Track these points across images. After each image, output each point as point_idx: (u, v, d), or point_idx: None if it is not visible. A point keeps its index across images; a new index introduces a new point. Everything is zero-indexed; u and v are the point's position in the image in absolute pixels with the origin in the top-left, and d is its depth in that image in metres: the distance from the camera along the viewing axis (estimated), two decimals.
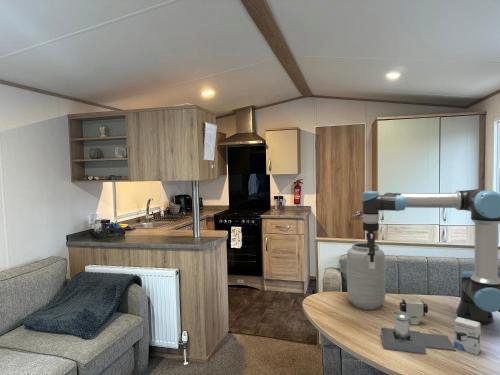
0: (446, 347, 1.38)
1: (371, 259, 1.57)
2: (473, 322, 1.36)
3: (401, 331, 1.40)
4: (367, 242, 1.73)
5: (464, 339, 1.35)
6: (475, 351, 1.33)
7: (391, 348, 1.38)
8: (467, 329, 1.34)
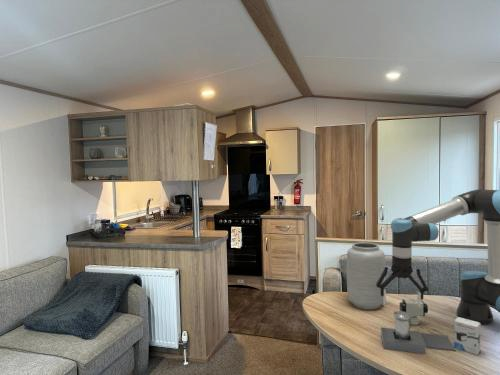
0: (446, 347, 1.38)
1: None
2: (473, 322, 1.36)
3: (401, 330, 1.40)
4: None
5: (464, 339, 1.35)
6: (475, 351, 1.33)
7: (391, 348, 1.38)
8: (467, 329, 1.34)
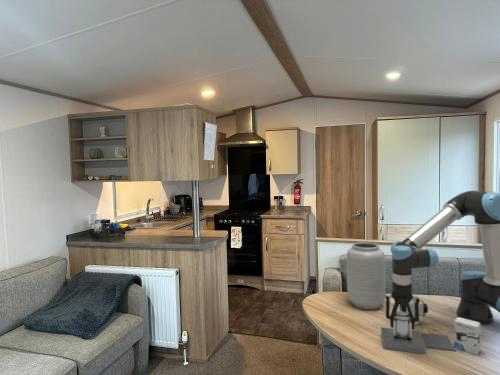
0: (446, 347, 1.38)
1: (390, 323, 1.44)
2: (473, 322, 1.36)
3: (401, 330, 1.40)
4: None
5: (464, 339, 1.35)
6: (475, 351, 1.33)
7: (391, 348, 1.38)
8: (467, 329, 1.34)
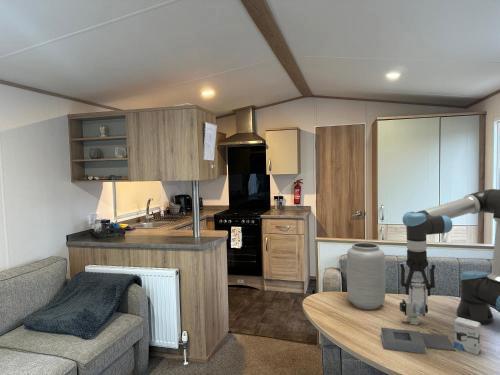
0: (446, 347, 1.38)
1: None
2: (473, 322, 1.36)
3: (417, 297, 1.39)
4: (430, 280, 1.41)
5: (464, 339, 1.35)
6: (475, 351, 1.33)
7: (391, 348, 1.38)
8: (467, 329, 1.34)
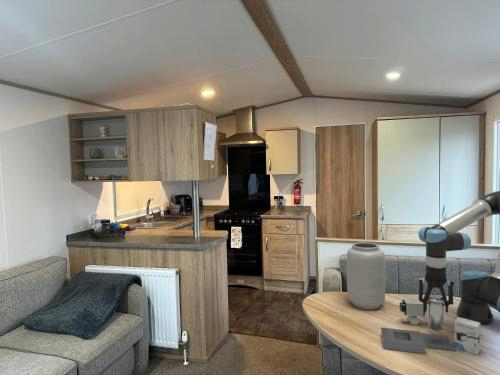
0: (446, 347, 1.38)
1: (423, 306, 1.44)
2: (473, 322, 1.36)
3: (435, 313, 1.40)
4: (448, 296, 1.42)
5: (464, 339, 1.35)
6: (475, 351, 1.33)
7: (391, 348, 1.38)
8: (467, 329, 1.34)
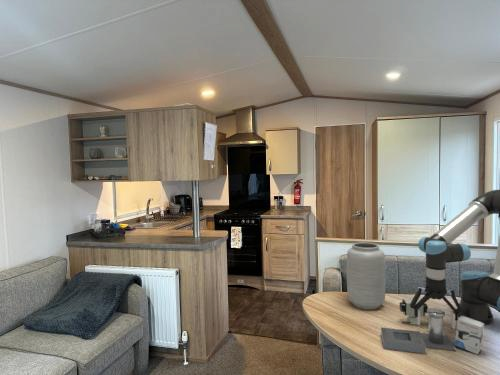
0: (446, 347, 1.38)
1: (414, 312, 1.45)
2: (477, 322, 1.35)
3: (435, 327, 1.40)
4: None
5: (465, 338, 1.35)
6: (475, 350, 1.33)
7: (391, 348, 1.38)
8: (470, 328, 1.34)
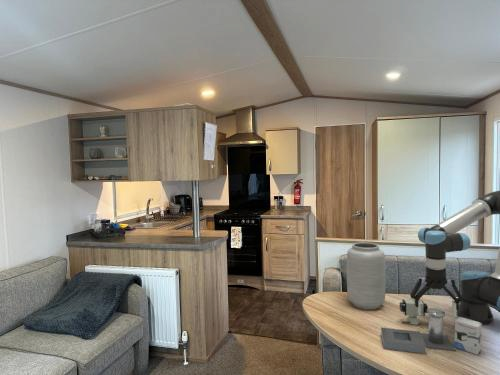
0: (446, 347, 1.38)
1: (415, 303, 1.45)
2: (474, 322, 1.35)
3: (435, 327, 1.40)
4: None
5: (464, 339, 1.35)
6: (475, 351, 1.33)
7: (391, 348, 1.38)
8: (468, 329, 1.34)
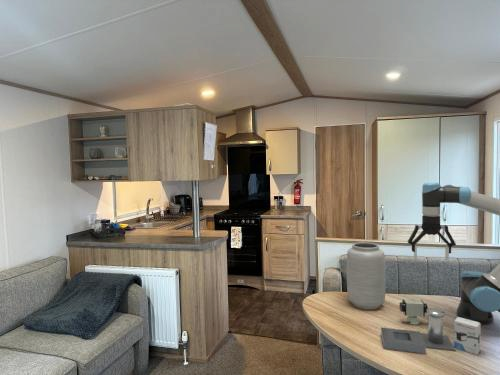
0: (446, 347, 1.38)
1: None
2: (473, 322, 1.36)
3: (435, 327, 1.40)
4: None
5: (464, 339, 1.36)
6: (475, 351, 1.33)
7: (391, 348, 1.38)
8: (467, 329, 1.34)
